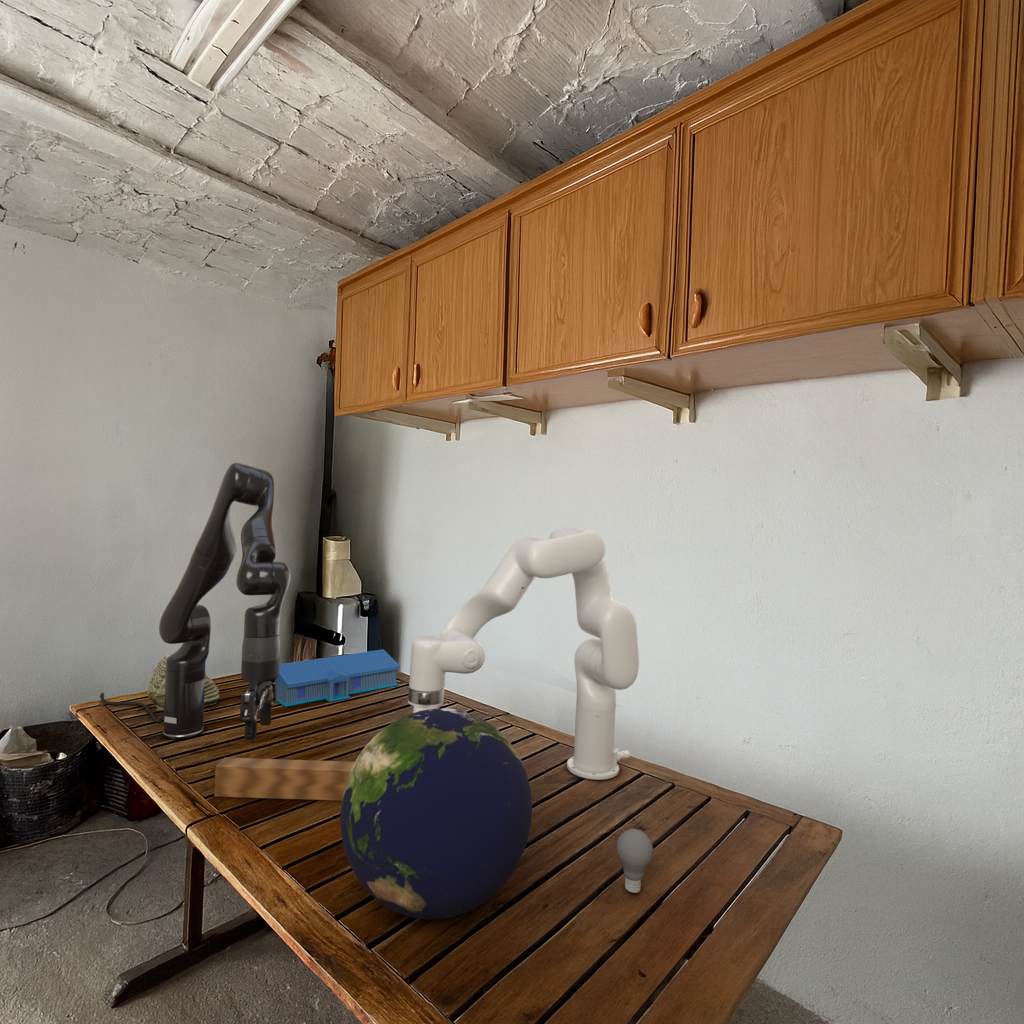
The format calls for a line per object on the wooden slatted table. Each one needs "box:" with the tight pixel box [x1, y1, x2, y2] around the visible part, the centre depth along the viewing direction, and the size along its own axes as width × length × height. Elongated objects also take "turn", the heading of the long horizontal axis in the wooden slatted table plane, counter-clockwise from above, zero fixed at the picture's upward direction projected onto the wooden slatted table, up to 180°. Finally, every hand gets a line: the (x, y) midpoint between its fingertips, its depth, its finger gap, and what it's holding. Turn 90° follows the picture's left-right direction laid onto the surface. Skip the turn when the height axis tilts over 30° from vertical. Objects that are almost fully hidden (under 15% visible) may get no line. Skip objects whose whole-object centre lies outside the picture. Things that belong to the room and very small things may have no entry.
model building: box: [276, 649, 401, 707], centre depth 208 cm, size 39×24×10 cm, turn 132°
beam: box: [213, 757, 355, 802], centre depth 135 cm, size 51×4×6 cm, turn 92°
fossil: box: [147, 654, 221, 712], centre depth 185 cm, size 9×18×15 cm, turn 132°
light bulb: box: [615, 828, 654, 894], centre depth 106 cm, size 6×6×10 cm
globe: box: [339, 707, 533, 920], centre depth 100 cm, size 30×30×30 cm
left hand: (258, 731), depth 134 cm, fingers open, 8 cm apart
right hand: (421, 775), depth 135 cm, fingers open, 9 cm apart
